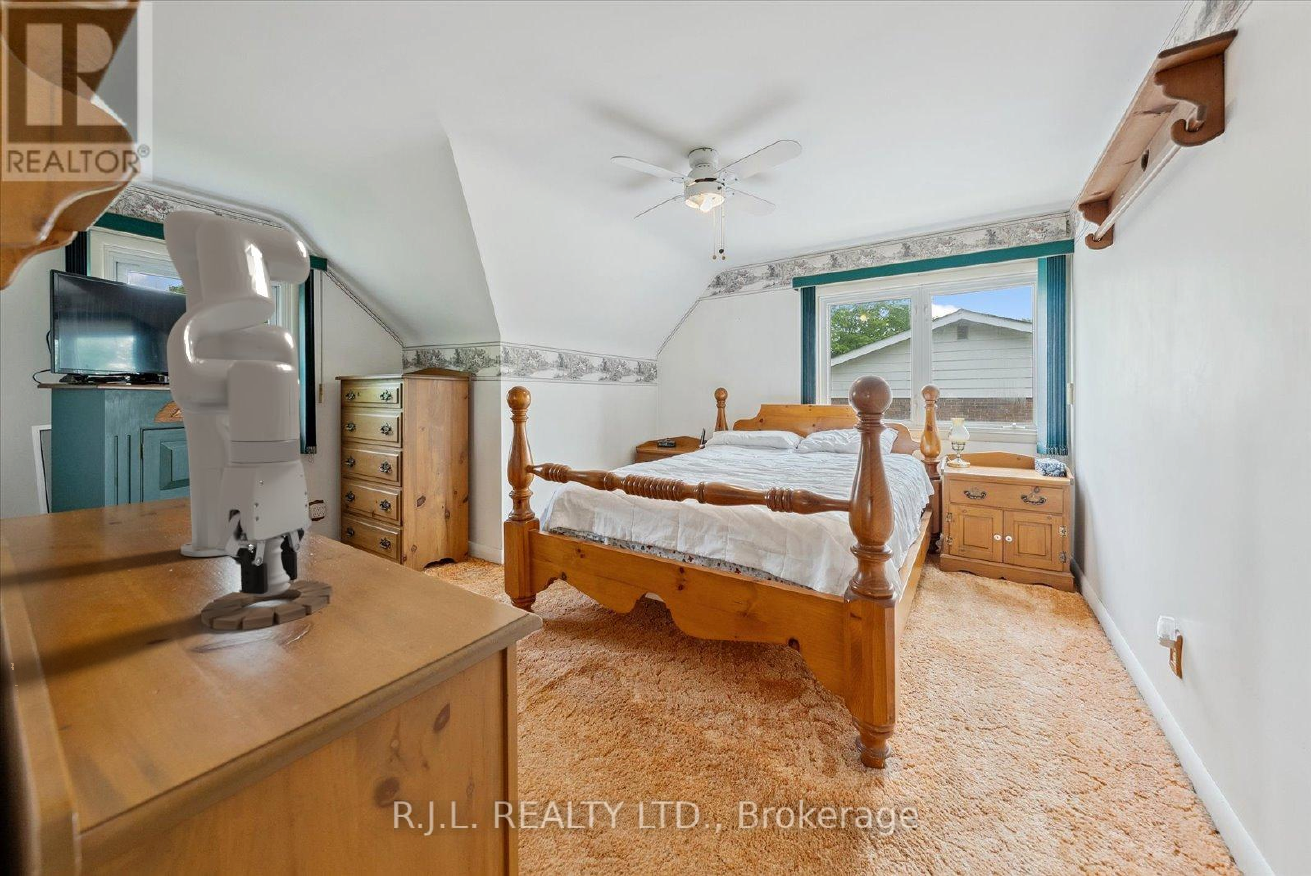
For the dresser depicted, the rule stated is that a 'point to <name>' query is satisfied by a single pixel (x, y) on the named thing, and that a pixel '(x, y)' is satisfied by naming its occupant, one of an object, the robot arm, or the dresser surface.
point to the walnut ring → (234, 615)
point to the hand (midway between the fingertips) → (270, 584)
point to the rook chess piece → (274, 568)
